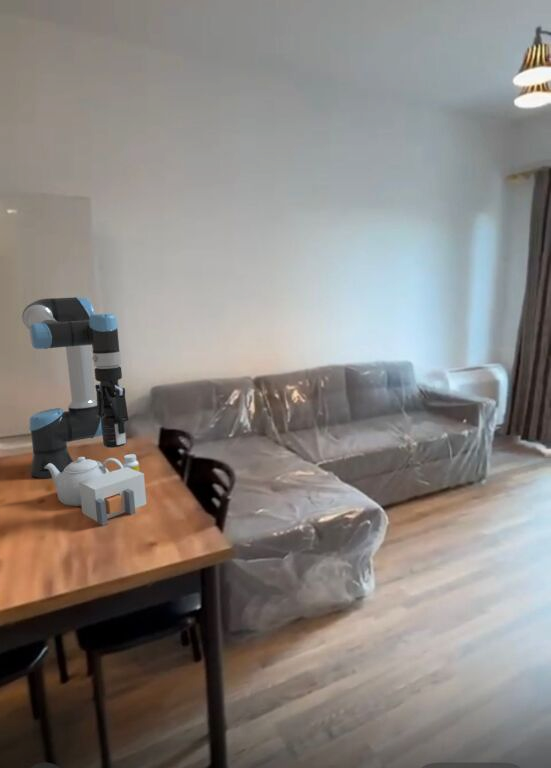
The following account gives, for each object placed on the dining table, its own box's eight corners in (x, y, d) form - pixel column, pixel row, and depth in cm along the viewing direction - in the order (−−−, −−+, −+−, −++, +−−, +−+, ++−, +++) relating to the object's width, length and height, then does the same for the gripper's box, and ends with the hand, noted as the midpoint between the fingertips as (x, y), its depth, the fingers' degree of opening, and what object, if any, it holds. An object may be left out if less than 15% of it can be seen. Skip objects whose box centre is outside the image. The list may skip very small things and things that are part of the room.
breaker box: (81, 513, 147) (78, 481, 145) (129, 496, 158) (126, 466, 157) (102, 525, 138) (99, 492, 136) (151, 506, 150) (149, 475, 148)
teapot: (72, 514, 146) (67, 471, 144) (46, 498, 159) (41, 459, 156) (127, 494, 160) (124, 455, 157) (100, 481, 172) (96, 444, 170)
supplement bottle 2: (142, 479, 172) (140, 453, 171) (136, 485, 167) (134, 458, 165) (128, 479, 173) (125, 453, 171) (121, 485, 168) (119, 458, 166)
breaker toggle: (97, 507, 146) (96, 494, 145) (110, 502, 149) (108, 490, 148) (110, 514, 141) (109, 501, 140) (122, 509, 144) (121, 496, 143)
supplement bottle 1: (106, 442, 150) (103, 404, 148) (129, 440, 151) (125, 403, 149) (100, 448, 144) (96, 409, 142) (124, 447, 144) (120, 408, 142)
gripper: (80, 365, 147) (88, 438, 151) (112, 371, 134) (120, 450, 138) (103, 362, 152) (110, 433, 157) (136, 367, 139) (143, 444, 143)
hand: (115, 441), depth 147 cm, fingers closed on supplement bottle 1, 7 cm apart
